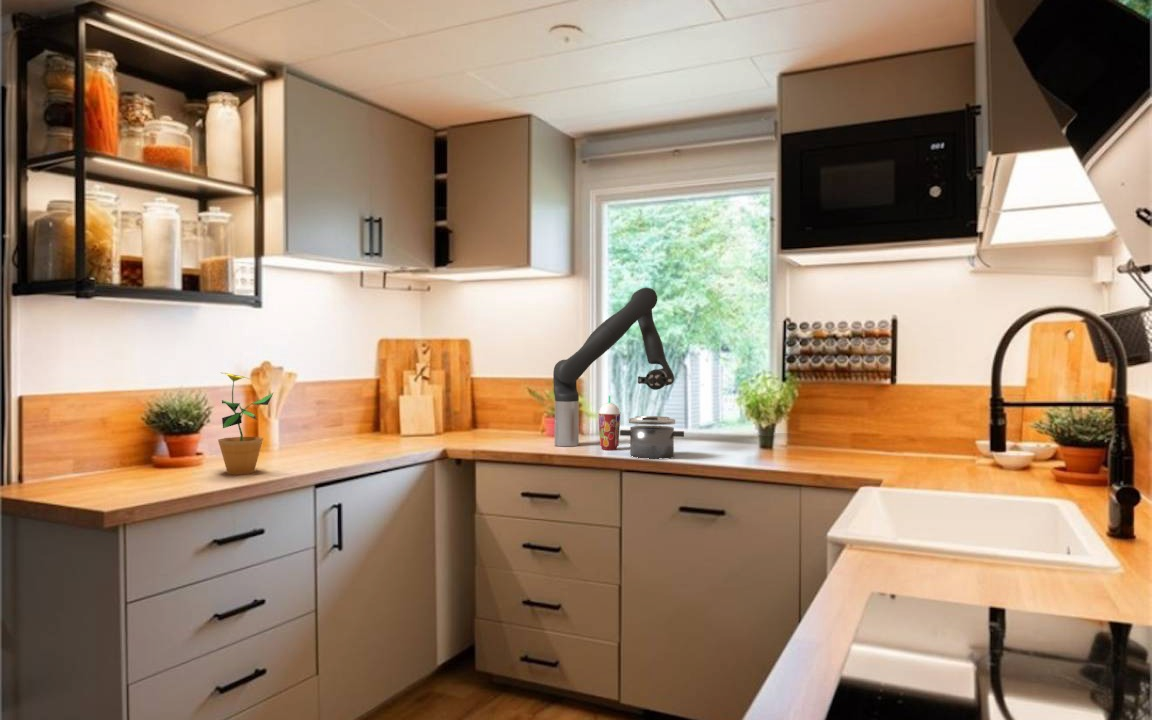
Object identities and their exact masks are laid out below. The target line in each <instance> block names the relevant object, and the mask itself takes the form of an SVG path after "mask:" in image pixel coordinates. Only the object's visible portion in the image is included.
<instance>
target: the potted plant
mask: <svg viewBox="0 0 1152 720" xmlns="http://www.w3.org/2000/svg"><path fill="white" fill-rule="evenodd" d="M221 374H223V375H226V376H227V377H228V378H229V379H230V380H231V381H232V382H233V383H232V390H231V402H230V401H227V400H224V399H222V400H221V404H225V405H227V406H228V408H229V409H230V410H231V411H232V412H233V414H231V415H227V416H224V417H222V418H221V419H222V420H221V422H222V429H225V428H228V427H232V426H236V425H237V427H238V429H239V434H240V436H234V437H233V436H232V437H224V438H218V439H217V441H218V445H219V448H220V452H221V455H222V459H223V461H224V466H225V469H226V473H227V474H228V475H247V474H249V475H250V474H253V473H255V470H256V467H257V462H258V460H259V455H260V452H261V448H262V444H263V440H264V437H261V436H244V435H243V431H242V428H241V424H242V422H243V421H242V419H243V414H244V415H245V416H248V417H250V418H252V419H255V420H256V421H258V418H257V416H256V415H255V414H254V413H252V412H250V411H248V410H246V409H248V408H249V407H250V406H251V405H259V406H261V405H263V406H268V405H269V403H270V401H271V399H272V396H273V394H274V392H272V393H269V394H268V395H266V396H265V397H263V398H261V399H259V400H256V401H254V402H251V403H250V404H249V405H247V406H246V407H245V408H242V407H241V403H239V402H238V403H237V402H234V387H235V382H236V381H238V380H242V379H245V380H246V379H248V380H250V378H249V377H245V376H243V375H238V374H233V373H227V372H221ZM238 407H239V409H240V412H236V411H237V410H238Z"/></svg>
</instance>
